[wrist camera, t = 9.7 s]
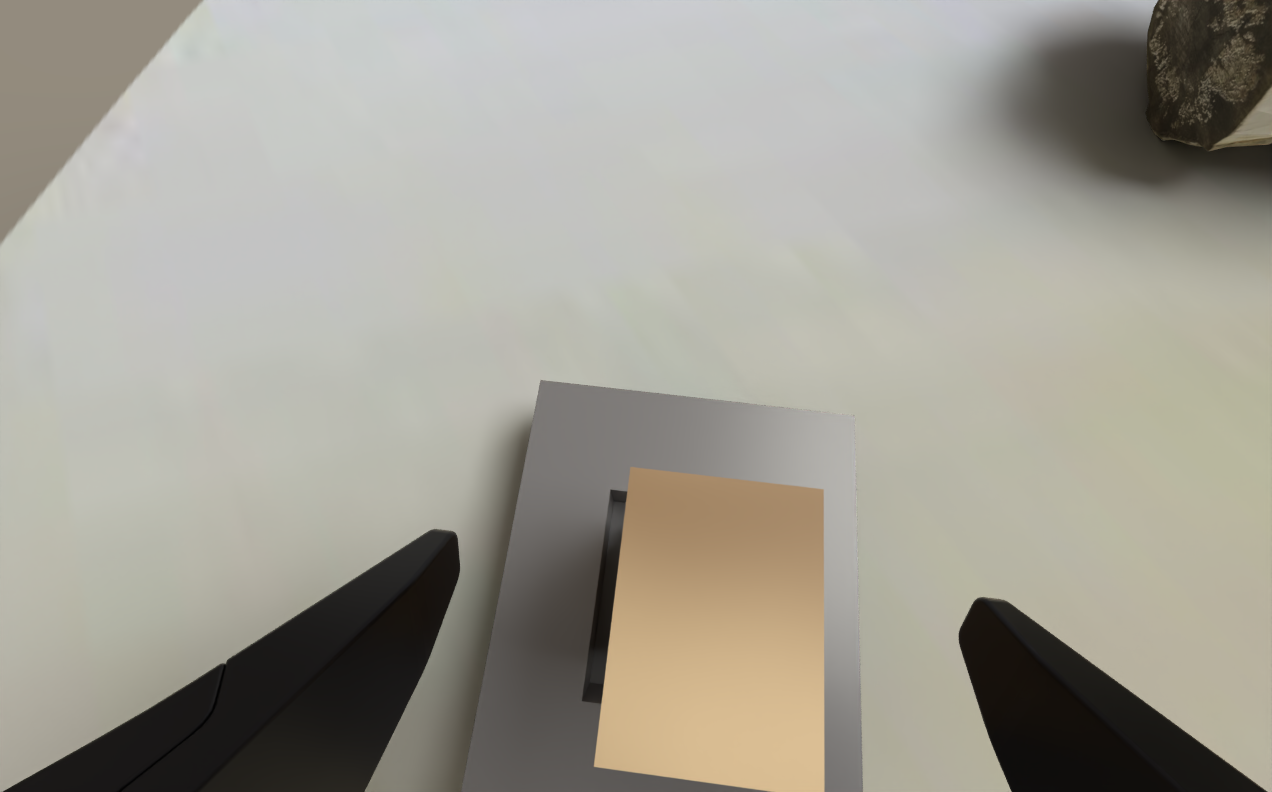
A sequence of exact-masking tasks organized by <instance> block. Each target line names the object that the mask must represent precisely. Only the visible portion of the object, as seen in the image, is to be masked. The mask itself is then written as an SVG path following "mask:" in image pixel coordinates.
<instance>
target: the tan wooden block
mask: <svg viewBox="0 0 1272 792" xmlns="http://www.w3.org/2000/svg"><path fill="white" fill-rule="evenodd" d="M594 767H599V768H606V769H613V770H620V771H628V772H635V773H642V774H649V775H656V776H663V777H671V778H678V779H685V780H692V781H699V782H706V783H714V784H721V785H728V786H735V787H742V788H749V789H757V790H764V791H771V792H824V489H817V488H809V487H800V486H791V485H783V484H774V483H765V482H757V481H748V480H739V479H731V478H722V477H714V476H705V475H696V474H688V473H679V472H670V471H662V470H653V469H645V468H636V467H630V475H629V483H628V491H627V499H626V508H625V516H624V524H623V532H622V540H621V548H620V557H619V565H618V573H617V581H616V589H615V598H614V606H613V614H612V622H611V630H610V639H609V647H608V655H607V663H606V671H605V679H604V688H603V696H602V704H601V712H600V720H599V729H598V737H597V745H596V753H595V761H594Z"/></svg>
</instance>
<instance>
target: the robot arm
mask: <svg viewBox="0 0 1272 792" xmlns="http://www.w3.org/2000/svg"><path fill="white" fill-rule="evenodd" d="M459 573H460V560H459V548H458V538H457V535H456V533H455V532H453V531H448V530H439V529H433V530H430V531H428V532H427V533H425V534H423V535H422V536H420V537H419V538H417V539H416V540H414V541H413V542H411V543H409V544H408V545H406V546H405V547H403V548H402V549H400V550H398V551H397V552H395V553H394V554H392V555H391V556H389V557H387V558H386V559H384V560H383V561H381V562H380V563H378V564H377V565H375V566H373V567H372V568H370V569H369V570H367V571H366V572H364V573H362V574H361V575H359V576H358V577H356V578H355V579H353V580H351V581H350V582H348V583H347V584H345V585H344V586H342V587H341V588H339V589H337V590H336V591H334V592H333V593H331V594H330V595H328V596H326V597H325V598H323V599H322V600H320V601H319V602H317V603H315V604H314V605H312V606H311V607H309V608H308V609H306V610H304V611H303V612H301V613H300V614H298V615H297V616H295V617H294V618H292V619H290V620H289V621H287V622H286V623H284V624H283V625H281V626H279V627H278V628H276V629H275V630H273V631H272V632H270V633H268V634H267V635H265V636H264V637H262V638H261V639H259V640H258V641H256V642H254V643H253V644H251V645H250V646H248V647H247V648H245V649H243V650H242V651H240V652H239V653H237V654H236V655H234V656H232V657H231V658H229V659H228V660H227V662H226V664H224V663H222V664H220V665H218V666H216V667H215V668H213V669H212V670H210V671H209V672H207V673H206V674H204V675H202V676H201V677H199V678H198V679H196V680H195V681H193V682H191V683H190V684H188V685H186V686H185V687H183V688H182V689H180V690H178V691H177V692H175V693H173V694H172V695H170V696H169V697H167V698H165V699H164V700H162V701H161V702H159V703H157V704H156V705H154V706H152V707H151V708H149V709H148V710H146V711H144V712H142V713H141V714H139V715H137V716H135V717H134V718H132V719H130V720H129V721H127V722H125V723H123V724H122V725H120V726H118V727H116V728H115V729H113V730H111V731H109V732H108V733H106V734H104V735H103V736H101V737H99V738H97V739H96V740H94V741H92V742H90V743H89V744H87V745H85V746H83V747H81V748H80V749H78V750H76V751H74V752H73V753H71V754H69V755H67V756H65V757H64V758H62V759H60V760H58V761H56V762H55V763H53V764H51V765H49V766H48V767H46V768H44V769H42V770H40V771H39V772H37V773H35V774H33V775H31V776H30V777H28V778H26V779H24V780H23V781H21V782H19V783H17V784H15V785H14V786H12V787H10V788H8V789H6V790H5V791H3V792H364V791H365V789H366V787H367V785H368V783H369V781H370V779H371V777H372V775H373V773H374V771H375V769H376V767H377V765H378V763H379V761H380V759H381V757H382V755H383V753H384V751H385V749H386V747H387V745H388V743H389V741H390V738H391V736H392V734H393V732H394V730H395V728H396V726H397V724H398V722H399V720H400V718H401V716H402V714H403V712H404V710H405V708H406V706H407V704H408V702H409V700H410V698H411V696H412V694H413V692H414V690H415V688H416V686H417V683H418V681H419V679H420V677H421V675H422V673H423V671H424V669H425V666H426V664H427V662H428V659H429V657H430V654H431V652H432V649H433V646H434V644H435V641H436V638H437V636H438V633H439V630H440V627H441V625H442V622H443V619H444V616H445V614H446V611H447V608H448V606H449V603H450V600H451V597H452V595H453V592H454V589H455V586H456V584H457V581H458V577H459ZM959 644H960V648H961V651H962V654H963V658H964V661H965V664H966V667H967V670H968V673H969V676H970V680H971V683H972V686H973V689H974V692H975V695H976V699H977V702H978V705H979V708H980V711H981V714H982V718H983V721H984V724H985V727H986V729H987V732H988V735H989V738H990V741H991V743H992V746H993V748H994V751H995V753H996V756H997V758H998V761H999V763H1000V765H1001V768H1002V770H1003V773H1004V775H1005V777H1006V780H1007V782H1008V784H1009V787H1010V789H1011V791H1012V792H1267V791H1266V790H1264V789H1263V788H1262V787H1260V786H1259V785H1258V784H1256V783H1255V782H1253V781H1252V780H1251V779H1249V778H1248V777H1247V776H1245V775H1244V774H1242V773H1241V772H1240V771H1238V770H1237V769H1236V768H1234V767H1233V766H1232V765H1230V764H1229V763H1227V762H1226V761H1225V760H1223V759H1222V758H1221V757H1219V756H1218V755H1216V754H1215V753H1214V752H1212V751H1211V750H1210V749H1208V748H1207V747H1206V746H1204V745H1203V744H1201V743H1200V742H1199V741H1197V740H1196V739H1195V738H1193V737H1192V736H1191V735H1189V734H1188V733H1186V732H1185V731H1184V730H1182V729H1181V728H1180V727H1178V726H1177V725H1175V724H1174V723H1173V722H1171V721H1170V720H1169V719H1167V718H1166V717H1165V716H1163V715H1162V714H1160V713H1159V712H1158V711H1156V710H1155V709H1154V708H1152V707H1151V706H1150V705H1148V704H1147V703H1145V702H1144V701H1143V700H1141V699H1140V698H1139V697H1137V696H1136V695H1134V694H1133V693H1132V692H1130V691H1129V690H1128V689H1126V688H1125V687H1124V686H1122V685H1121V684H1119V683H1118V682H1117V681H1115V680H1114V679H1113V678H1111V677H1110V676H1109V675H1107V674H1106V673H1104V672H1103V671H1102V670H1100V669H1099V668H1098V667H1096V666H1095V665H1093V664H1092V663H1091V662H1089V661H1088V660H1087V659H1085V658H1084V657H1083V656H1081V655H1080V654H1078V653H1077V652H1076V651H1074V650H1073V649H1072V648H1070V647H1069V646H1068V645H1066V644H1065V643H1063V642H1062V641H1061V640H1059V639H1058V638H1057V637H1055V636H1054V635H1052V634H1051V633H1050V632H1048V631H1047V630H1046V629H1044V628H1043V627H1042V626H1040V625H1039V624H1037V623H1036V622H1035V621H1033V620H1032V619H1031V618H1029V617H1028V616H1027V615H1025V614H1024V613H1022V612H1021V611H1020V610H1018V609H1017V608H1016V607H1014V606H1013V605H1012V604H1010V603H1009V602H1007V601H1005V600H1001V599H994V598H986V597H980V598H977V599H976V600H975V601H974V602H973V604H972V606H971V608H970V610H969V612H968V614H967V616H966V618H965V620H964V622H963V624H962V626H961V628H960V631H959Z"/></svg>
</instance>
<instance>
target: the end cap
mask: <svg viewBox="0 0 1272 792" xmlns="http://www.w3.org/2000/svg"><path fill="white" fill-rule="evenodd" d="M630 467H636V468H645V469H653V470H662V471H670V472H679V473H688V474H696V475H705V476H714V477H722V478H731V479H739V480H748V481H757V482H765V483H774V484H783V485H791V486H800V487H809V488H817V489H824V792H863V778H862V731H861V684H860V636H859V589H858V542H857V494H856V447H855V415H847V414H838V413H829V412H820V411H811V410H802V409H793V408H784V407H775V406H766V405H757V404H748V403H740V402H731V401H722V400H713V399H704V398H695V397H686V396H677V395H668V394H659V393H650V392H641V391H632V390H624V389H615V388H606V387H597V386H588V385H579V384H570V383H561V382H552V381H543V380H541V381H540V386H539V391H538V396H537V401H536V407H535V412H534V417H533V422H532V427H531V432H530V438H529V443H528V448H527V453H526V458H525V463H524V469H523V474H522V479H521V484H520V489H519V495H518V500H517V505H516V510H515V515H514V520H513V526H512V531H511V536H510V541H509V546H508V551H507V557H506V562H505V567H504V572H503V577H502V582H501V588H500V593H499V598H498V603H497V608H496V613H495V619H494V624H493V629H492V634H491V639H490V645H489V650H488V655H487V660H486V665H485V670H484V676H483V681H482V686H481V691H480V696H479V701H478V707H477V712H476V717H475V722H474V727H473V732H472V738H471V743H470V748H469V753H468V758H467V764H466V769H465V774H464V779H463V784H462V789H461V792H771V791H764V790H757V789H749V788H742V787H735V786H728V785H721V784H714V783H706V782H699V781H692V780H685V779H678V778H671V777H663V776H656V775H649V774H642V773H635V772H628V771H620V770H613V769H606V768H599V767H594V761H595V753H596V745H597V737H598V729H599V720H600V712H601V704H602V696H603V688H604V679H605V671H606V663H607V655H608V647H609V639H610V630H611V622H612V614H613V606H614V598H615V589H616V581H617V573H618V565H619V557H620V548H621V540H622V532H623V524H624V516H625V508H626V499H627V491H628V483H629V475H630Z"/></svg>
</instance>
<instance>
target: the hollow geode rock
mask: <svg viewBox="0 0 1272 792" xmlns="http://www.w3.org/2000/svg"><path fill="white" fill-rule="evenodd" d="M1147 88H1148V96H1149V104H1148V107H1147V110H1146V116H1147V120H1148V122H1149V124H1150V126H1151V128H1152V130H1153V133H1154V134H1155V135H1157V136H1158V137H1159V138H1160V139H1162V140H1173V139H1174V140H1177V141H1180V142H1183V143H1186V144H1189V145H1194V146H1200V147H1203V148H1204V149H1206V150H1207V151H1212V150H1216V149H1220V148H1224V147H1237V146H1252V145H1268V144H1271V143H1272V0H1158V2H1157V3H1156V5H1155V7H1154V10H1153V14H1152V18H1151V22H1150V26H1149V30H1148V39H1147Z"/></svg>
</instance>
